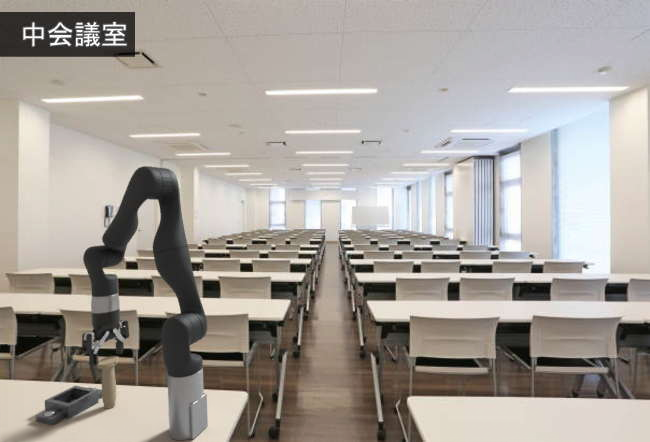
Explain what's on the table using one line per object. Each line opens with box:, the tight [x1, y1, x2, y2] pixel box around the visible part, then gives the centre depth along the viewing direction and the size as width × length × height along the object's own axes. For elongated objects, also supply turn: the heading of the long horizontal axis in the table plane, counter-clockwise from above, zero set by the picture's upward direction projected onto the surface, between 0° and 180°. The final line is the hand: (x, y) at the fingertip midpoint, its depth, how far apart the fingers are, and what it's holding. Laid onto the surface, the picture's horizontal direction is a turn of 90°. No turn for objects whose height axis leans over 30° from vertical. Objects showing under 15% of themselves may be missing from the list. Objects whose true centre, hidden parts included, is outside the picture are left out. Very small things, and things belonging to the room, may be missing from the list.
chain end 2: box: [70, 385, 102, 418], centre depth 111 cm, size 10×12×4 cm
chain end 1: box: [35, 386, 75, 426], centre depth 107 cm, size 10×12×4 cm
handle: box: [96, 355, 120, 410], centre depth 109 cm, size 5×6×15 cm
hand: (107, 359), depth 109 cm, fingers open, 8 cm apart
